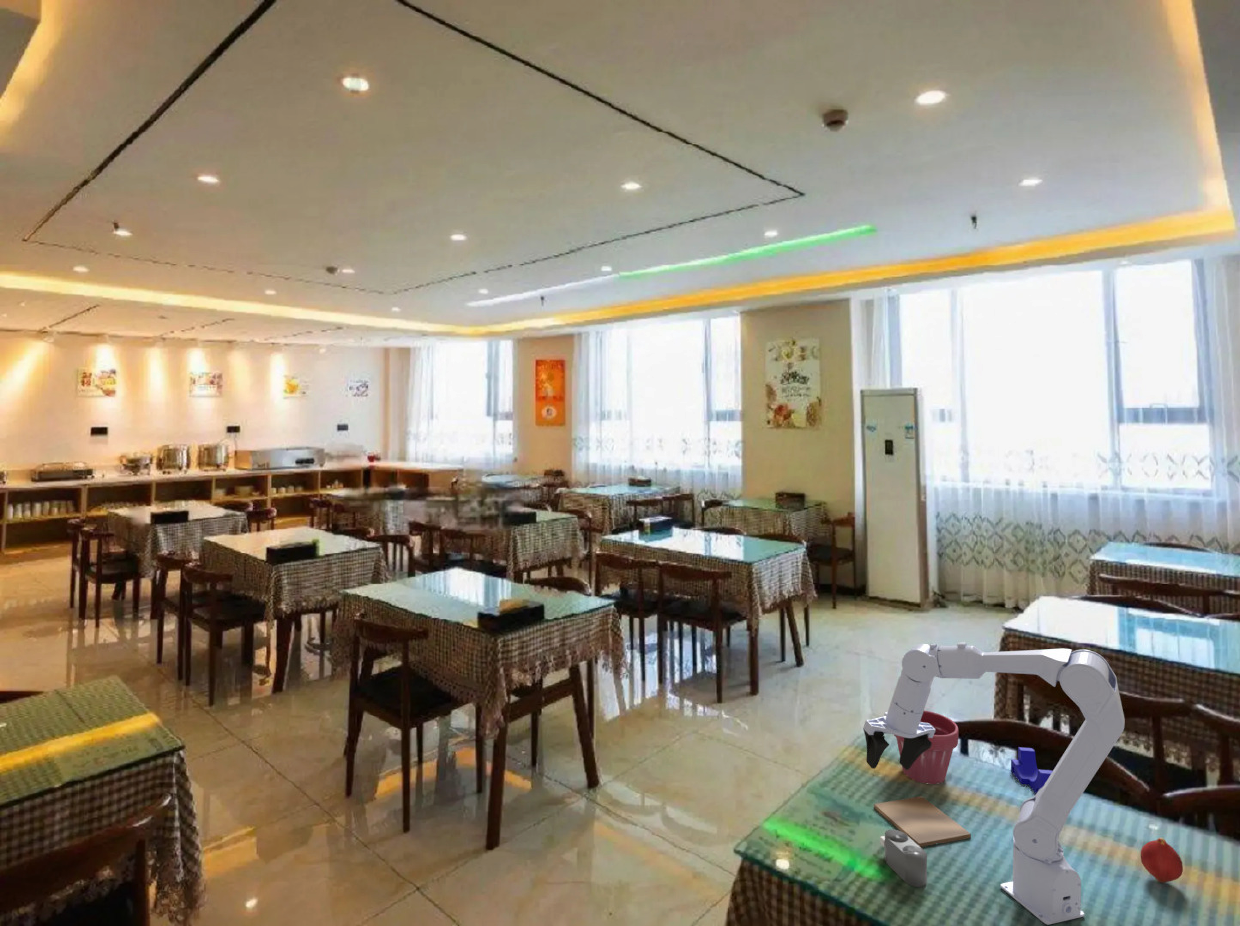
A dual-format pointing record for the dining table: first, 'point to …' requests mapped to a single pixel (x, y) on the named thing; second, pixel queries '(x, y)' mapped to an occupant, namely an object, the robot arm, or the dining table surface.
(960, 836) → the walnut pad
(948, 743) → the plant pot
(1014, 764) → the cable clip
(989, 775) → the dining table surface
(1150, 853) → the onion
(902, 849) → the grey rounded bottle
